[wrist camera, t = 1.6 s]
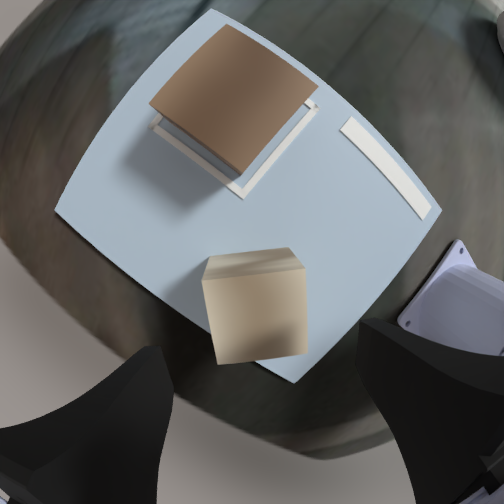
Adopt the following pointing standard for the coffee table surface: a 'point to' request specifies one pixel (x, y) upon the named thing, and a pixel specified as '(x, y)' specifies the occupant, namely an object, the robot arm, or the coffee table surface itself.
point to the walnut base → (233, 96)
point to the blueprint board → (251, 201)
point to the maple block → (256, 305)
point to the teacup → (501, 30)
